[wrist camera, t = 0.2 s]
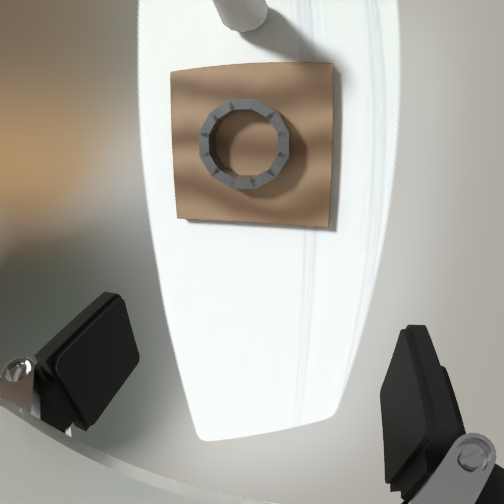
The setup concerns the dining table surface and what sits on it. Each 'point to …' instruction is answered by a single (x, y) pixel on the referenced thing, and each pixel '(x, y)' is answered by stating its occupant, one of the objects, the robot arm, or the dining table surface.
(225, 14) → the salt shaker
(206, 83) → the board
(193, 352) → the dining table surface
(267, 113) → the collar
